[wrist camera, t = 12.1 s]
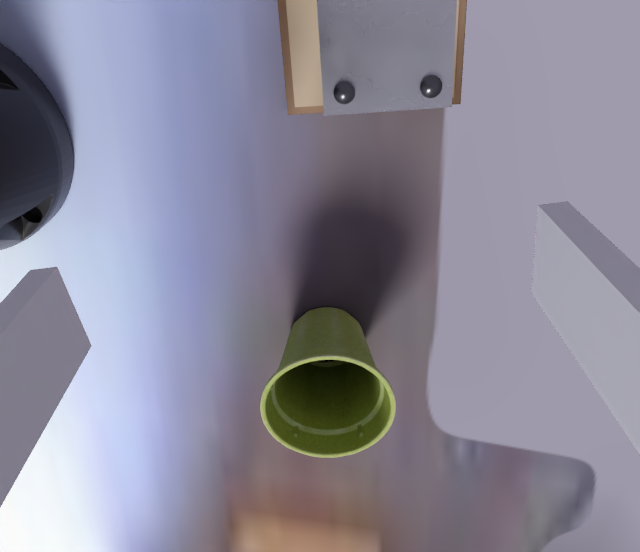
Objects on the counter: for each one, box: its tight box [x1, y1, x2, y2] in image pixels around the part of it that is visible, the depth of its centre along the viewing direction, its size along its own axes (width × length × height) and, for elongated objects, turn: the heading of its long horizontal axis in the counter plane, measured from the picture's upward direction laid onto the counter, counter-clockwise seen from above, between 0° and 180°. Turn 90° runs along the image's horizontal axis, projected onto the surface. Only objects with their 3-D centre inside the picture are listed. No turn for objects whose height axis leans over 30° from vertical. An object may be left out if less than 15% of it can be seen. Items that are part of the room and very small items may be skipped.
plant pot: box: [260, 307, 396, 458], centre depth 41 cm, size 9×9×9 cm
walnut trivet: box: [278, 0, 467, 115], centre depth 32 cm, size 11×11×2 cm
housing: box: [317, 0, 457, 116], centre depth 28 cm, size 6×7×9 cm
